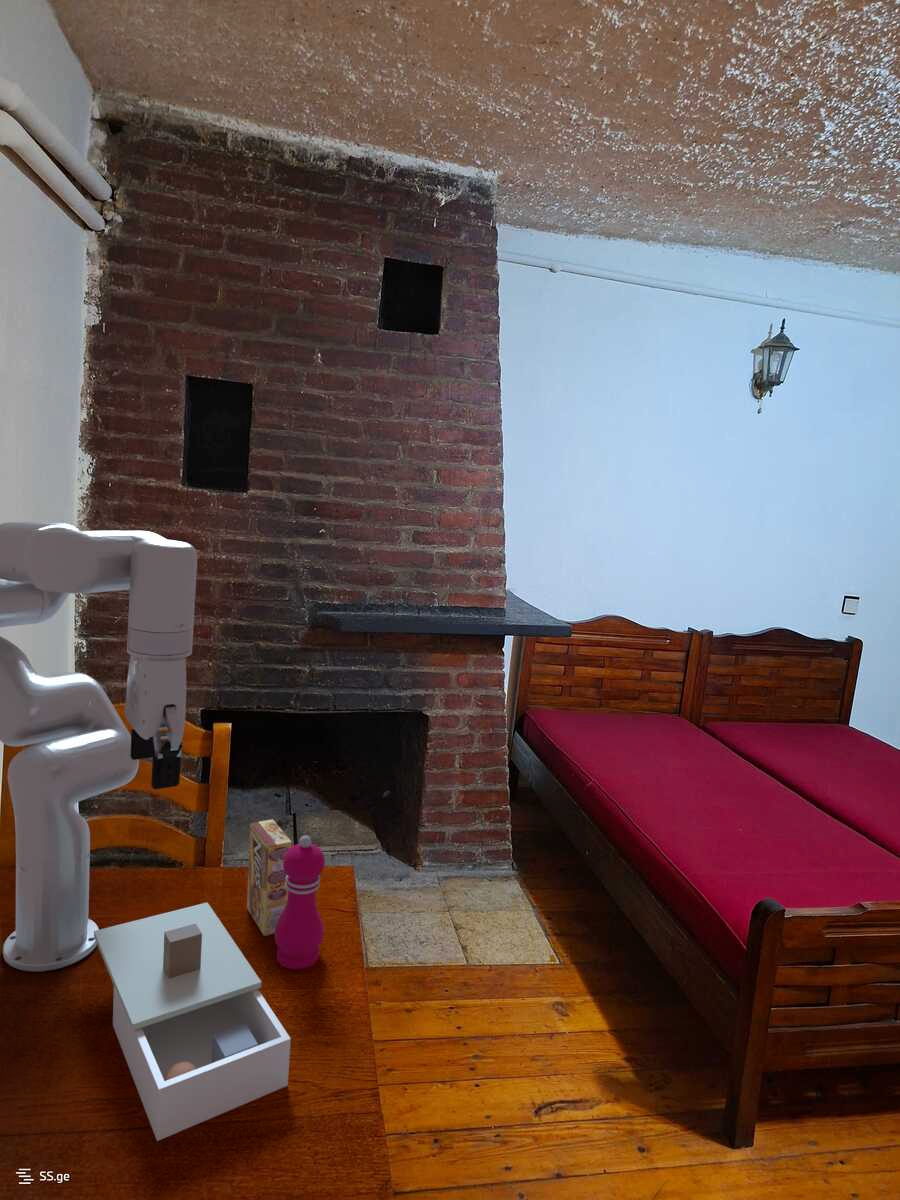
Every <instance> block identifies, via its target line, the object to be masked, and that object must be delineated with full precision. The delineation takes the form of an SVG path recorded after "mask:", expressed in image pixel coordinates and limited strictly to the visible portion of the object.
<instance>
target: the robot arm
mask: <svg viewBox="0 0 900 1200" xmlns="http://www.w3.org/2000/svg"><path fill="white" fill-rule="evenodd" d="M197 570H198V554H197V550H196V548H195V547H194V546H193V545H192V544H190V543H188V542H185V541H180V540H173V539H167V538H166V537H163V536H162V535H159V534H158V533H155V532H152V531H147V530H111V529H110V530H109V529H108V530H79V528H77V527H75V526H74V525H71V524H69V523H65V522H49V521H48V522H33V521H32V522H29V521H28V522H25V521H23V522H21V521H20V522H18V521H17V522H12V521H11V522H2V523H0V628H6V627H14V626H25V625H34V624H39V623H43V622H46V621H48V620H50V619H52V618H53V617H54V616H55V615H56V614H57V612H59V610H60V609H61V607H62V605H64V603H65V601H66V599H67V598H68V596H69V595H70V594H72V595H73V594H77V595H78V594H79V595H80V594H81V595H82V594H93V593H95V594H96V593H102V592H105V593H106V592H116V591H129V596H128V597H129V598H128V599H129V601H128V619H127V642H126V643H127V644H126V645H127V646H126V652H127V654H128V655H130V657H129V663H128V670H127V680H126V681H127V682H126V693H125V704H124V716H125V719H126V720H127V722H128V723H129V725H130V726H131V731H130V732H129V730H128V728H127V726H126V725H125V723H124V722H123V720H122V718H121V717H120V715H119V713H118V712H117V710H116V708H115V706H114V705H113V703H112V701H111V700H110V698H109V696H108V695H107V693H106V691H105V690H104V688H103V687H102V685H101V684H100V683H99V682H98V681H97V680H96V679H95V678H93V677H92V676H90V675H88V674H85V673H82V672H67V673H65V672H64V673H60V674H54V675H53V674H52V675H41V674H39V673H38V672H37V671H36V669H34V667H33V666H32V664H31V662H30V659H29V658H28V656H27V655H26V654H25V652H23V650H21V649H20V648H19V647H18V646H17V645H15V644H14V643H13V642H11V641H10V640H8V639H7V638H5V637H2V636H1V635H0V742H2V743H3V744H4V745H5V746H9V747H24V746H27V747H25V748H24V749H22V750H21V751H19V752H18V753H17V754H16V755H15V756H13V758H12V760H11V761H10V763H9V765H8V769H7V782H8V783H7V784H8V788H9V792H10V797H11V802H12V803H11V804H12V808H13V814H14V825H15V930H14V931H13V932H11V933H10V935H9V936H8V937H7V938H6V940H5V941H4V943H3V946H2V956H3V959H4V961H5V962H6V964H8V965H9V966H10V967H12V968H14V969H17V970H20V971H24V972H47V971H53V970H57V969H61V968H62V969H63V968H65V967H68V966H70V965H73V964H75V963H76V962H79V961H80V960H83V959H84V958H85V957H87V956H89V955H90V953H91V952H93V951H94V950H95V948H97V946H98V945H97V943H96V940H95V938H94V931H96V930H100V929H99V925H97V924H96V922H94V920H92V919H90V918H89V911H90V910H89V906H90V905H89V902H90V896H89V895H90V862H91V861H90V859H91V858H90V854H91V853H90V850H91V832H90V827H89V824H88V822H87V821H86V819H85V818H84V817H83V816H82V815H81V814H80V813H79V812H77V810H76V809H75V808H76V807H75V805H76V804H77V803H79V802H81V801H83V800H86V799H88V798H91V797H95V796H98V795H100V794H104V793H107V792H110V791H112V790H116V789H119V788H121V787H123V786H125V785H127V784H128V783H130V782H131V781H132V780H133V779H134V778H135V777H136V775H137V773H138V769H139V765H140V764H139V763H140V760H143V759H150V758H151V759H152V760H151V761H152V763H151V764H152V765H151V779H150V781H151V784H150V785H151V788H152V789H153V790H161V789H168V788H173V787H178V786H179V784H180V782H181V781H180V779H181V762H182V761H181V760H182V759H181V758H182V755H183V752H182V748H183V742H182V741H183V738H184V729H185V723H186V722H185V721H186V711H187V709H186V707H187V665H186V664H187V663H186V662H187V661H186V659H187V658H188V657H189V656H192V654H193V639H194V626H195V625H194V621H195V609H196V607H195V606H196V588H197V572H198V571H197ZM161 730H165V731H161ZM166 739H168V740H167V741H165V742H164V743H163V745H162V740H166ZM28 745H29V746H28Z"/></svg>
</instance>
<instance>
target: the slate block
mask: <svg viewBox="0 0 900 1200" xmlns="http://www.w3.org/2000/svg"><path fill="white" fill-rule="evenodd" d="M256 1046H258V1043H257V1042H256V1040H255V1038H254V1037H253V1035H252V1033H251V1032H250V1030H249V1028H248V1027H247V1025H246V1024H242V1025H239V1026H237V1027H234V1028H231V1029H228V1030H225V1031H223V1032H220V1033H217V1034H214V1035H213V1053H212V1063H214V1062H217V1061H219V1060H222V1059H224V1058H227V1057H230V1056H232V1055H235V1054H238V1053H240V1052H243V1051H245V1050H248V1049H251V1048H253V1047H256Z"/></svg>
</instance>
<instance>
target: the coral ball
mask: <svg viewBox="0 0 900 1200" xmlns="http://www.w3.org/2000/svg"><path fill="white" fill-rule="evenodd" d="M193 1070H196V1068H195V1066H194V1065H193V1064H191V1063H190V1062H186V1061H182V1062H178V1063H176V1064H174V1065H173V1066H172V1067H171V1068H170V1069H169V1070H168V1072H167V1074H166V1077H165V1081H167V1080H169V1079H172V1078H175V1077H177V1076H180V1075H182V1074H185V1073H188V1072H190V1071H193Z"/></svg>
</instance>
